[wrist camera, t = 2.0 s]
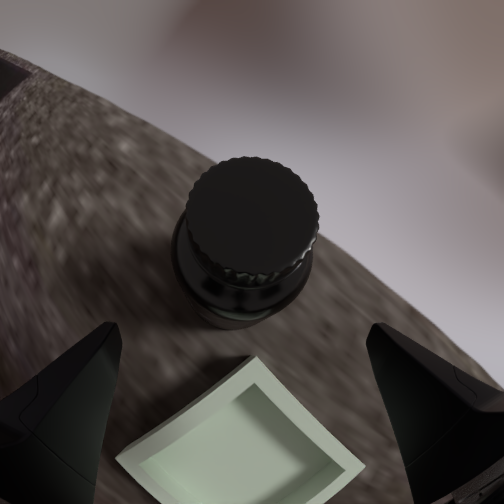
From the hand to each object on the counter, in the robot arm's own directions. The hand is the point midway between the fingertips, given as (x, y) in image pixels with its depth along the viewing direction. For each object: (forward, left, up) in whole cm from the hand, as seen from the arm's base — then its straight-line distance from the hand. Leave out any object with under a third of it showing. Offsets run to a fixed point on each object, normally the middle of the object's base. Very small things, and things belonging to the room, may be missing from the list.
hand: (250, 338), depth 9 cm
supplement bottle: (+3, +3, -11) cm, 12 cm away
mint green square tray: (-6, -8, -11) cm, 15 cm away
